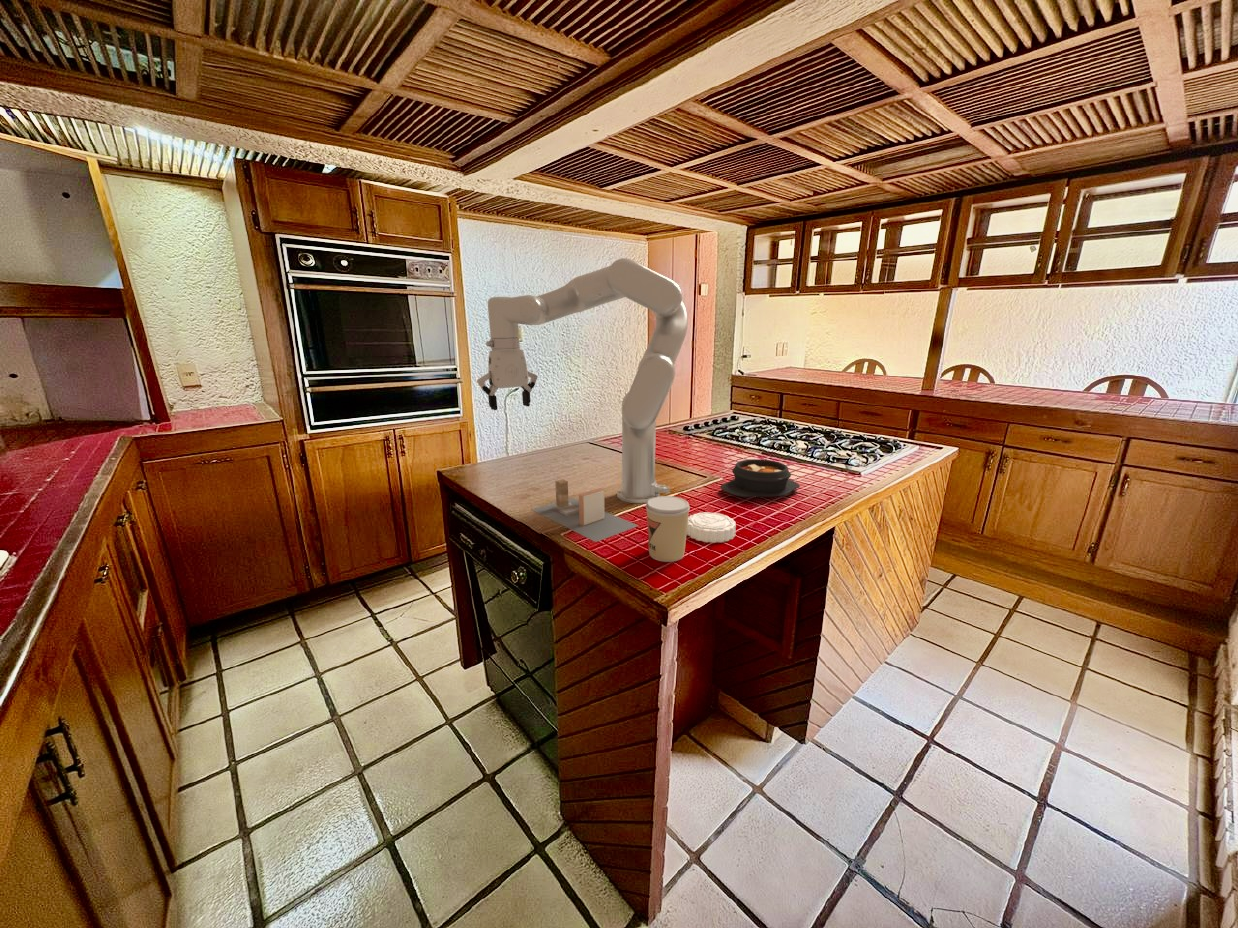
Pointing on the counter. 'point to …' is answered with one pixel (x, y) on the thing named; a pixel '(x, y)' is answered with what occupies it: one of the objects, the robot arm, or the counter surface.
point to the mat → (590, 531)
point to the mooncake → (711, 527)
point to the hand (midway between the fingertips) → (510, 407)
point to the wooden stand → (563, 499)
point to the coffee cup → (667, 527)
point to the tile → (591, 507)
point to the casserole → (760, 479)
